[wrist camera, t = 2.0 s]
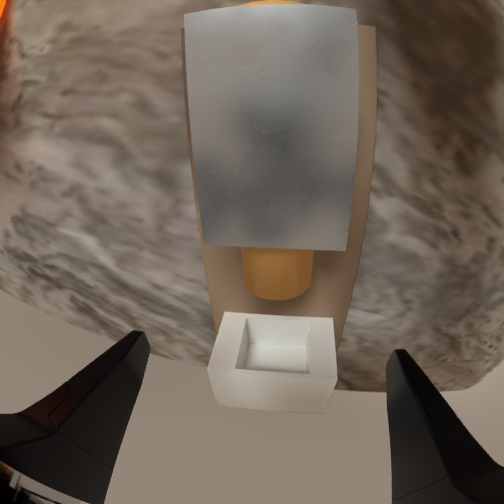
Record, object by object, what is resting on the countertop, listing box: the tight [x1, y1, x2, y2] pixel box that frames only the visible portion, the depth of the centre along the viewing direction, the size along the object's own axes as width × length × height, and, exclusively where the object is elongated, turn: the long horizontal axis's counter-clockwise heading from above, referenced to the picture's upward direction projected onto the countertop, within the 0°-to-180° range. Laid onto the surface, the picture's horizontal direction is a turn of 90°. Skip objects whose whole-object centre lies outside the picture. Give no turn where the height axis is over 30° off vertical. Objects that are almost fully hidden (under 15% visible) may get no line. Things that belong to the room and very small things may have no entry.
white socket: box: [207, 312, 337, 413], centre depth 19 cm, size 8×5×5 cm, turn 92°
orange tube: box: [239, 0, 314, 300], centre depth 12 cm, size 4×13×4 cm, turn 2°
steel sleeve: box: [184, 4, 359, 251], centre depth 11 cm, size 6×9×5 cm, turn 2°
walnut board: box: [181, 24, 377, 352], centre depth 17 cm, size 10×24×1 cm, turn 2°
